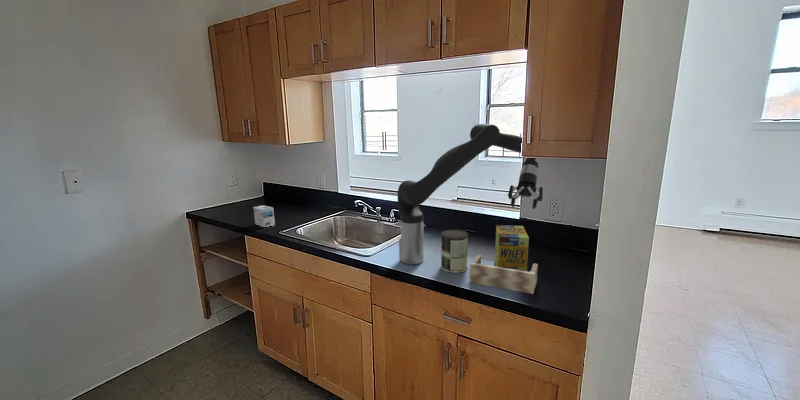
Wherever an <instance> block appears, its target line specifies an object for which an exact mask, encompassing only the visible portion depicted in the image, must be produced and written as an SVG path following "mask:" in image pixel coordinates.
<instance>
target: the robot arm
mask: <svg viewBox="0 0 800 400" xmlns="http://www.w3.org/2000/svg"><path fill="white" fill-rule="evenodd" d="M469 136H470V140H468V141H467V142H464V143H461V144H459V145H455V146H454V147H452V148H451V149H449V150H447V151H446V152H444V153H443V154H442V155H441V156H440V157H439V158H438V159H436V161H435V163H434V165H433V167H432V169H431V170H430V171H429V173H428V174H426V175H425V176H423V177H422V178H421V179H419V180H418V181H413V180H410V179H409V180H404V181H402V182H401V183H400V184H399V186H398V189H397V209H398V214H399V216H400V217H399V218H400V238H399V239H398V250H399V251H398V252H399V253H398V255H399V257H398V258H399V259H398V260H399V262H401V263H404V264H406V265H418V264H422V263H423V262H425V261H424V258H425V257H424V256H425V255H424V253H425V251H424V250H425V249H424V213H423V212H422V210H421V209H420V207H419V205H420V206H421V205H422V204H424V203H425V201H427V200H428V198H429V197H430V196H432V194H434V192H436V190H437V189H438V188H439V187H441V186H442V185H444V183H446V182H447V181H448V180H450V178H452V177H453V176H455V175H456V174H457V173H458V172H459V171H461V170H462V168H464V167H465V166H467V164H469V163H470V162H471V161H473V160H474V159H475V158H476V157H477V156H479V155H480V154H482V153H483V152H485V151H486V150H488V149H489V148H491V147H492V146H494V147H498V148H501V149H505V150H508V151H513V152H516V153H520V154H522V153H521V143H522V136H518V135H516V134H510V133H502V132H500V129H499V127H498V126H497V125H495V124H493V123H478V124H475V125H473V127H472V128H471V130H470V133H469ZM535 159H536V158H527V159H526V161H525V162H524V163H523V162H522V165H521V169H520V172H519V179H518V184H517V186H514V185H512V184H511V185H509V186H510V187H509V191H508V193H507V196H508V197H507V198H508V199H509V200H510V205H511V207H512V208H515V206H516V205H515V203H516V200H517V199H519V198H520V197H523V198H524V197H527V198H531V199H532V200H533V202H532V210H535V209H536V208H537V205H538V202H542V201H543V196H544V195H543V194H544V193H543V192H544V189H543V187H542V186H540V187H537V182H538V176H539V166H538V163H537V162H536V161H535ZM514 192H515V193H514ZM536 192H537V193H538V196H537V194H536Z"/></svg>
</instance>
